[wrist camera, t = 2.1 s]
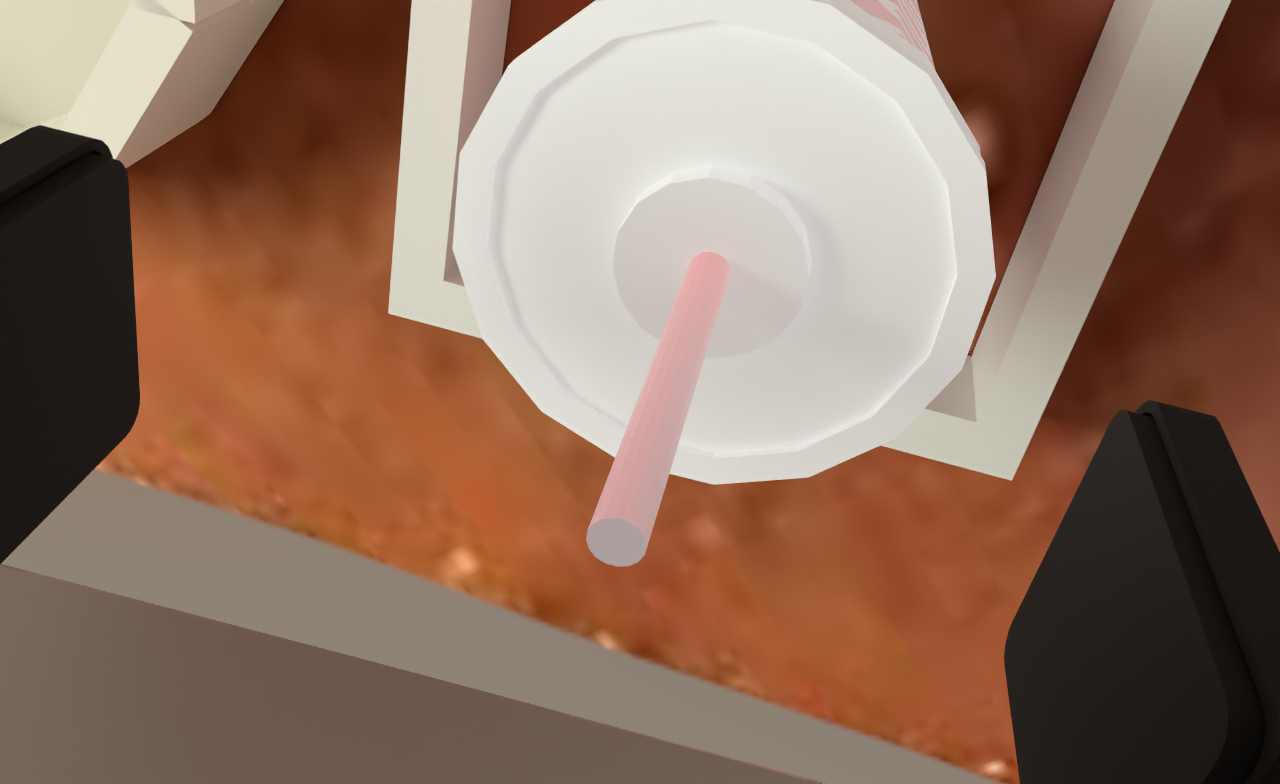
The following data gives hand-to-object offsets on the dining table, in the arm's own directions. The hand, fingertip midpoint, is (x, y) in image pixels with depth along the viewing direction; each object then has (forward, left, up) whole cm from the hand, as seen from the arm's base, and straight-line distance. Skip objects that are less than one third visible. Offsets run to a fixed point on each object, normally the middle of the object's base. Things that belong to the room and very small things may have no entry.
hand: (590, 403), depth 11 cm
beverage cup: (-1, 0, -12) cm, 12 cm away
